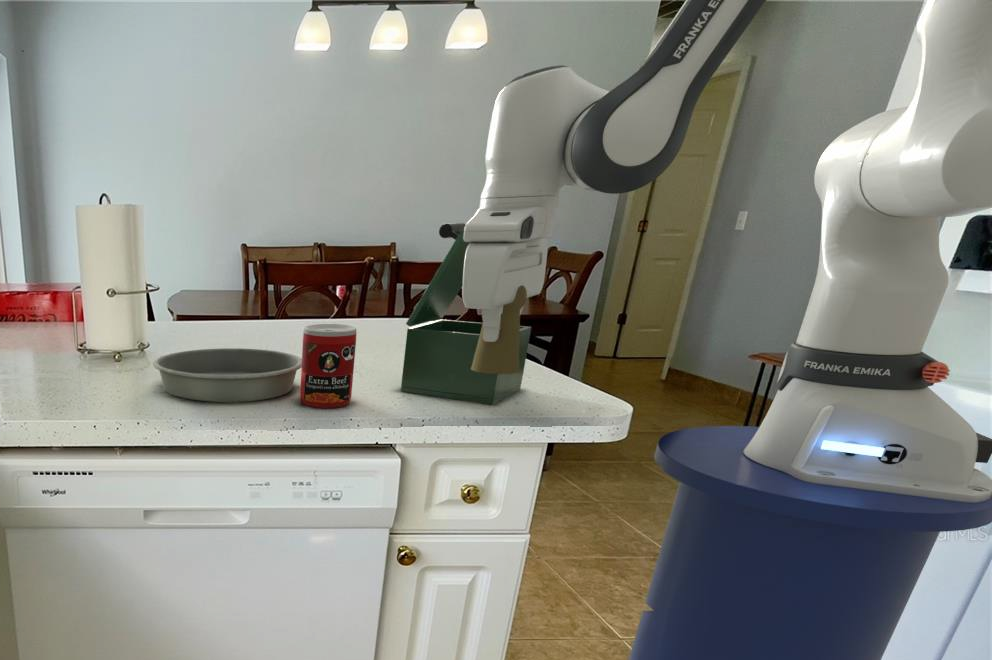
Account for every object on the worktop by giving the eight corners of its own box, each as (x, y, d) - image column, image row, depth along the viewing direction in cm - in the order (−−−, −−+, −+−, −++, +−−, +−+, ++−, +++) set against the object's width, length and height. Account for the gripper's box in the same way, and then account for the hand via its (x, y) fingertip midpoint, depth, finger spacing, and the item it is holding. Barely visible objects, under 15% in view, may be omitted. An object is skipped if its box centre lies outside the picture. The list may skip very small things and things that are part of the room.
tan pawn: (473, 373, 93) (484, 285, 89) (468, 364, 99) (478, 281, 94) (523, 374, 92) (536, 284, 87) (515, 365, 97) (527, 280, 93)
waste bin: (520, 389, 114) (531, 326, 110) (492, 404, 105) (503, 337, 101) (432, 378, 123) (440, 319, 119) (400, 391, 114) (407, 328, 110)
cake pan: (293, 371, 129) (294, 346, 127) (311, 405, 106) (313, 374, 104) (158, 372, 129) (157, 347, 127) (148, 405, 107) (147, 375, 105)
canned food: (299, 408, 105) (303, 331, 100) (299, 395, 112) (303, 323, 107) (352, 409, 104) (358, 332, 99) (349, 396, 111) (355, 323, 106)
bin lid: (499, 227, 108) (472, 211, 110) (467, 229, 100) (439, 212, 101) (442, 317, 118) (418, 301, 120) (409, 326, 110) (384, 309, 111)
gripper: (516, 222, 97) (502, 326, 103) (458, 226, 83) (445, 347, 89) (566, 220, 93) (548, 329, 99) (514, 225, 79) (496, 351, 85)
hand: (499, 337), depth 94 cm, fingers closed on tan pawn, 4 cm apart
